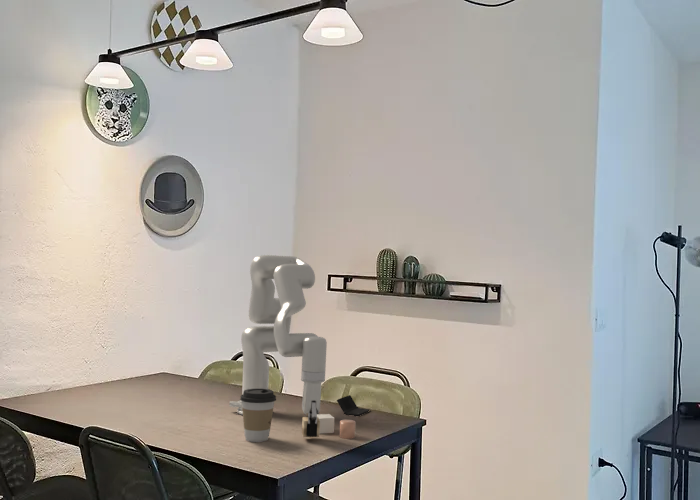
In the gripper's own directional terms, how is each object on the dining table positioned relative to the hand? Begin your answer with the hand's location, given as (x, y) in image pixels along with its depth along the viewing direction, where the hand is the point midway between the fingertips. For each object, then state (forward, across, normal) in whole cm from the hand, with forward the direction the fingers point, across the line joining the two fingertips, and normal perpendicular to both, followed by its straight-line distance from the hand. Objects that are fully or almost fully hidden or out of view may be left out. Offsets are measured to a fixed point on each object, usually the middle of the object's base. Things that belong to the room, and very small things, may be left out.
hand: (310, 433), depth 215 cm
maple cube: (+1, 0, 0) cm, 1 cm away
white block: (+2, -11, +5) cm, 13 cm away
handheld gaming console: (+3, -39, +20) cm, 44 cm away
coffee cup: (+3, -1, -17) cm, 17 cm away
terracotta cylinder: (+2, -3, +12) cm, 13 cm away
